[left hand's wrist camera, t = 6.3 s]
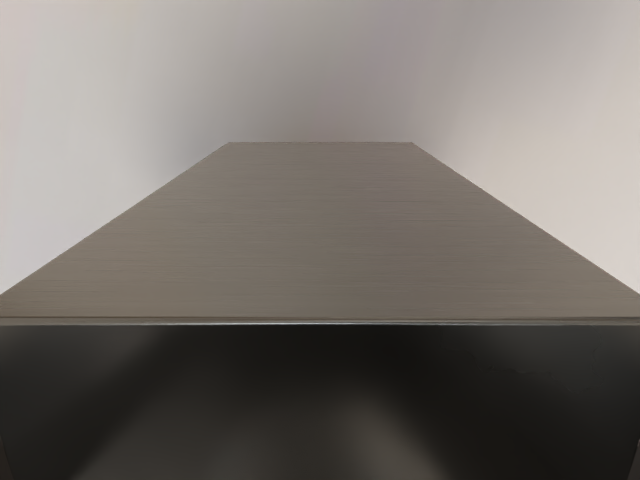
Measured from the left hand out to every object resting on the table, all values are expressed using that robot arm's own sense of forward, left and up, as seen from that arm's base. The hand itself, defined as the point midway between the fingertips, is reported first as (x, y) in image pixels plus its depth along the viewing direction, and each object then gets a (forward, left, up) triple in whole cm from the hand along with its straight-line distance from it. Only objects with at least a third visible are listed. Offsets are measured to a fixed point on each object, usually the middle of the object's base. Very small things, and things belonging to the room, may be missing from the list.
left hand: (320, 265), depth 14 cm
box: (+8, +5, -2) cm, 9 cm away
